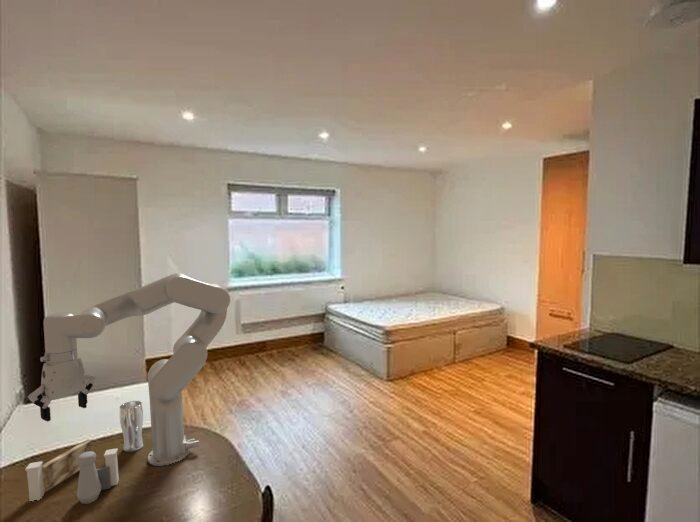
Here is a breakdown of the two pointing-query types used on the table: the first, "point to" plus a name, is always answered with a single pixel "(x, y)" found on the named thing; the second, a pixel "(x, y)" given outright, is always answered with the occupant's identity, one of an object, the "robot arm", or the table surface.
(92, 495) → the salt shaker
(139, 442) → the beer glass
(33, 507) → the table surface
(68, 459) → the gate
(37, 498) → the gate posts
